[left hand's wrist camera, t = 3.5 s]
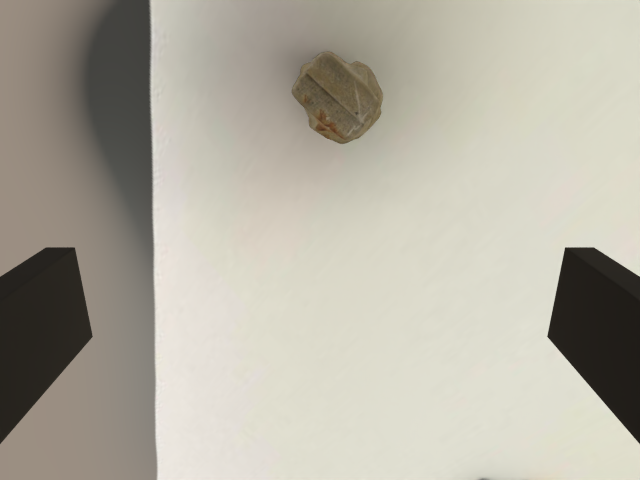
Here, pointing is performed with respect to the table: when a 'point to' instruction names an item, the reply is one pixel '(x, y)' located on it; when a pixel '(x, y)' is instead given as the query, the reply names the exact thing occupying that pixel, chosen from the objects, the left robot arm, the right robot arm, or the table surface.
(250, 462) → the table surface
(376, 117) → the sculpture
